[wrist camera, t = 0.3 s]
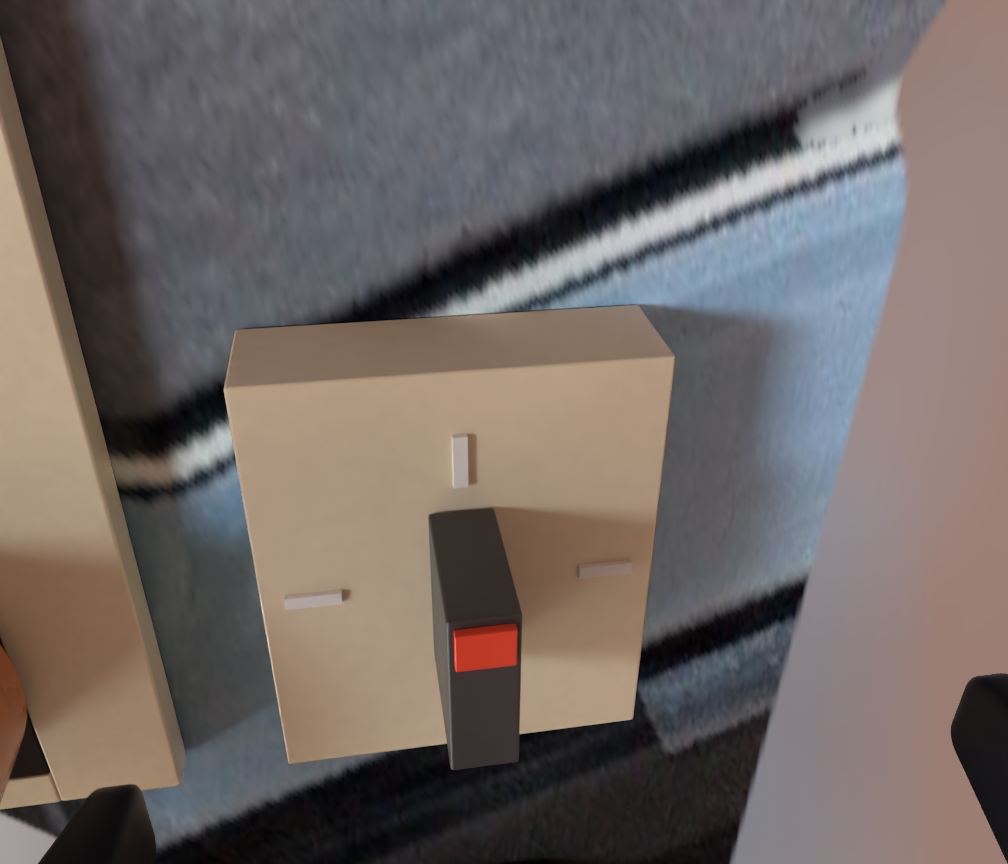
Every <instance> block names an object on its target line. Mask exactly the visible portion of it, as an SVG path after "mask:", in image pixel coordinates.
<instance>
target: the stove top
mask: <svg viewBox="0 0 1008 864" xmlns="http://www.w3.org/2000/svg"><path fill="white" fill-rule="evenodd" d="M0 645H1V646H2V648H3V649H4V651H5V652H6V654H7V655H8V656H9V658H10V659H11V661H12V663H13V665H14V667H15V669H16V671H17V673H18V675H19V677H20V679H21V683H22V687H23V690H24V694H25V698H26V709H27V720H26V728H25V734H24V737H23V740H22V742H21V745H20V748H19V751H18V754H17V757H16V760H15V763H14V766H13V769H12V771H11V774H10V777H9V780H8V783H7V786H6V789H5V792H4V795H3V798H2V800H1V803H0V809H7V808H15V807H23V806H30V805H38V804H46V803H53V802H59V801H60V800H63V801H66V800H74V799H81V798H87V797H88V796H89V795H90V794H91V793H92V792H94V791H95V790H97V789H99V788H103V787H111V786H119V785H126V784H135V785H137V786H138V787H139V788H140V790H141V791H142V790H150V789H158V788H165V787H173V786H179V785H181V784H182V779H183V773H184V766H185V760H186V752H185V748H184V744H183V741H182V737H181V733H180V729H179V725H178V721H177V717H176V713H175V710H174V706H173V702H172V698H171V694H170V690H169V686H168V683H167V679H166V675H165V671H164V667H163V663H162V659H161V655H160V652H159V648H158V644H157V640H156V636H155V632H154V628H153V625H152V621H151V617H150V613H149V609H148V605H147V601H146V597H145V594H144V590H143V586H142V582H141V578H140V574H139V570H138V567H137V563H136V559H135V555H134V551H133V547H132V543H131V539H130V536H129V532H128V528H127V524H126V520H125V516H124V512H123V509H122V505H121V501H120V497H119V493H118V489H117V485H116V481H115V478H114V474H113V470H112V466H111V462H110V458H109V454H108V451H107V447H106V443H105V439H104V435H103V431H102V427H101V423H100V420H99V416H98V412H97V408H96V404H95V400H94V396H93V393H92V389H91V385H90V381H89V377H88V373H87V369H86V365H85V362H84V358H83V354H82V350H81V346H80V342H79V338H78V335H77V331H76V327H75V323H74V319H73V315H72V311H71V307H70V304H69V300H68V296H67V292H66V288H65V284H64V280H63V277H62V273H61V269H60V265H59V261H58V257H57V253H56V249H55V246H54V242H53V238H52V234H51V230H50V226H49V222H48V219H47V215H46V211H45V207H44V203H43V199H42V195H41V191H40V188H39V184H38V180H37V176H36V172H35V168H34V164H33V161H32V157H31V153H30V149H29V145H28V141H27V137H26V133H25V130H24V126H23V122H22V118H21V114H20V110H19V106H18V103H17V99H16V95H15V91H14V87H13V83H12V79H11V75H10V72H9V68H8V64H7V60H6V56H5V52H4V48H3V45H2V41H1V37H0Z"/></svg>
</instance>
